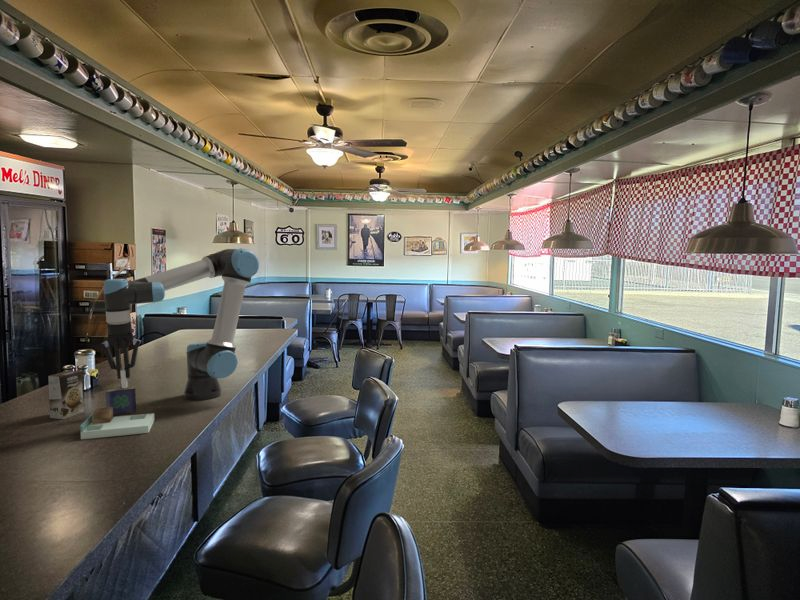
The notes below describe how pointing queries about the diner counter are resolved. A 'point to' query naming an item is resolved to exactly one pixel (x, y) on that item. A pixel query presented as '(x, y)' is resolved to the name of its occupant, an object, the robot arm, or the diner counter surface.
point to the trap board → (117, 426)
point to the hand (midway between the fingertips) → (124, 387)
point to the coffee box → (65, 394)
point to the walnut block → (103, 415)
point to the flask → (121, 400)
